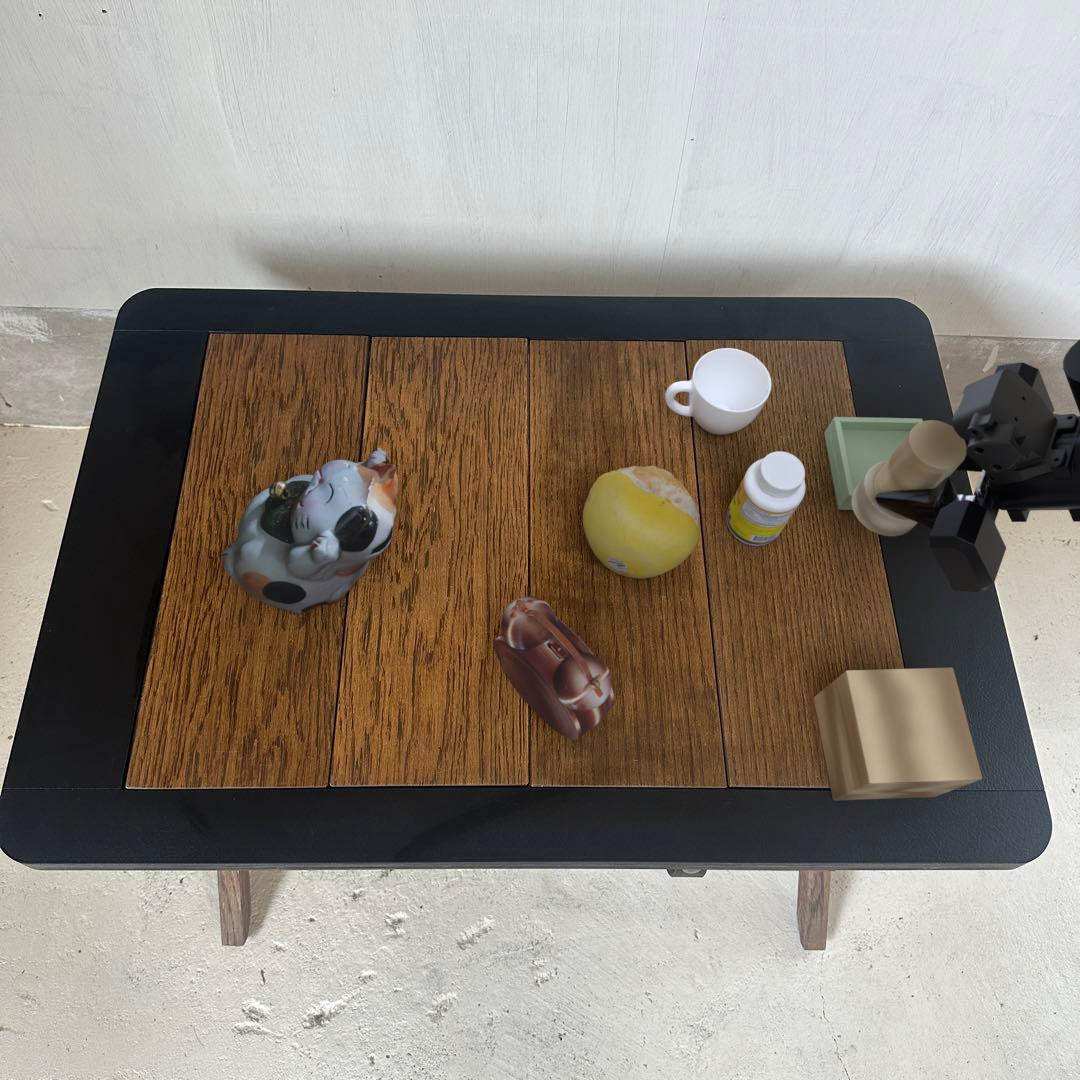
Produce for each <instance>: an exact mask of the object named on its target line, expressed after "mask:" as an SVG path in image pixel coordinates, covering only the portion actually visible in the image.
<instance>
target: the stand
mask: <svg viewBox="0 0 1080 1080" xmlns="http://www.w3.org/2000/svg"><path fill="white" fill-rule="evenodd" d="M813 701H814V707H815V712H816V713H815V714H816V719H817V723H818V729H819V733H820V740H821V744H822V745H821V746H822V749H823V755H824V761H825V765H826V771H827V775H828V776H827V777H828V782H829V786H830V791H831V797H832V801H834V802H835V801H836V802H837V801H857V800H858V801H859V800H860V801H861V800H863V801H864V800H886V799H887V800H889V799H915V798H936V797H938V796H941V795H943V794H946V793H949V792H952V791H955V790H957V789H960V788H962V787H965V786H968V785H971V784H973V783H976V782H978V781H982V780H983V775H982V771H981V768H980V764H979V760H978V757H977V752H976V749H975V745H974V741H973V738H972V734H971V730H970V727H969V722H968V718H967V715H966V712H965V709H964V703H963V701H962V696H961V692H960V689H959V685H958V681H957V678H956V674H955V670H954V667H922V668H921V667H918V668H887V669H885V668H883V669H881V668H880V669H852V670H851V669H849V670H845V671H844V672H842V674H840V675H839V676H837V678H835V679H834V680H833V681H832V682H830V683H829V684H828V685H827V686H826V687H825V688H823V689H821V690H820V691H819V692H818V693H817V694H816V695H815V696H814V697H813Z"/></svg>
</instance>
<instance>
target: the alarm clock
mask: <svg viewBox="0 0 1080 1080" xmlns="http://www.w3.org/2000/svg"><path fill="white" fill-rule="evenodd" d="M500 626H501V627H500V628H501V633H500V634H499V635H498V637H497V638H495V639H494V640H493V641H492V643H493V645H492V646H493V650H494V653H495V655H496V658H497V660H498V662H499V664H500V665H501V668H502V669H503V672H504V674H505V675H506V677H507V679H508V681H509V682H510V683H511V685H512V686H513V688H514V689H515V691H516V692H517V693H518V694H519V696H520V697H521V699H522V700H523V701H524V702H525V703H526V704H527V706H528V707H529V708H530V709H531V710H532V711H533V712H534V714H536V715H537V716H538V717H539V718H540V719H541V720H542V721H543V722H545V723H546V724H547V725H548V726H549V727H551V728H552V729H553V730H555V731H556V733H558V734H560V735H561V736H562V737H564V738H566V739H567V740H570V741H578V739H579V738H581V737H582V736H583V735H585V734H586V733H588V732H589V731H591V730H592V729H593V728H594V727H596V726H597V725H598V724H599V723H600V722H601V721H602V719H604V717H605V716H606V715H607V714H608V713H609V712H610V711H611V709H612V708H613V707H614V706H615V703H616V697H615V693H614V690H613V686H612V682H613V681H612V680H613V678H612V674H611V672H610V669H609V668H608V666H607V664H606V663H605V662H604V661H603V660H602V659H601V658H599V657H598V656H596V655H595V654H594V653H593V652H592V650H591V649H590V648H589V647H588V646H587V644H586V643H585V642H584V641H583V640H582V638H581V637H580V636H579V635H578V634H577V633H576V632H574V630H572V628H570V626H569V625H568V624H565V622H563V621H562V620H561V619H560V618H558V617H557V615H556V614H555V612H554V609H553V608H552V607H551V606H550V605H549V604H548V603H547V602H546V601H545V600H543V599H542V598H540V597H537V596H523V597H520V598H517V599H515V600H513V601H512V602H511V603H510V604H509V605H508V606H507V607H506V608H505V610H504V611H503V612H502V615H501V622H500Z"/></svg>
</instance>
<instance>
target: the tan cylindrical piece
mask: <svg viewBox="0 0 1080 1080" xmlns="http://www.w3.org/2000/svg"><path fill="white" fill-rule="evenodd" d="M966 449H967V446H966V443H965V440H964V439H962V438H961V437H960V436H959V435H958V434H957V433H956V432H955V430H954V428H953V425H951V424H948V423H946V422H945V421H941V420H936V419H928V420H923V422H920V423H918V424H917V425H915V426H914V427H913V428H912V430H911V431H910V432H909V433H908V435H907V436H906V437H905V439H904V440H903V441H902V442H901V444H900V445H899V446H898V448H897V449H896V450H895V451H894V453H893V454H892V455H891V457H890V458H889V459H888V460H887V461H883V462H880V463H878V464H876V465H874V466H873V467H871V469H870V470H869V471H868V472H867V473H866V475H865V476H864V477H863V479H862V480H861V481H860V483H859V484H858V485H857V487H856V488H855V490H854V492H853V494H852V508H853V510H852V511H853V514H854V515H855V518H856V519H857V520H858V522H859V523H860V524H861V525H863V526H864V527H865V528H866V529H868V530H869V531H871V532H873V533H874V534H877V535H881V536H884V537H898V536H902V535H905V534H907V533H909V532H910V531H911V530H913V528H914V527H915V526H916V525H917V524H918V523H917V522H915V521H913V520H911V519H908V518H906V517H904V516H902V515H899V514H897V513H895V512H893V511H890V510H888V509H886V508H884V507H881V506H880V505H879V504H878V503H877V501H876V499H875V497H876V495H877V494H880V493H885V492H891V491H905V490H921V489H933V488H936V487H937V486H938V485H939V484H940V483H941V482H942V481H943V480H944V479H945V478H946V477H949V478H950V476H952V475H953V473H954V472H955V471H957V470H956V469H957V468H958V466H959V465H960V464H961V463H962V462H963V461H964V459H965V457H966Z"/></svg>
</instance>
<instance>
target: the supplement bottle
mask: <svg viewBox="0 0 1080 1080" xmlns="http://www.w3.org/2000/svg"><path fill="white" fill-rule="evenodd" d="M805 476H806V470H805V467H804V464H803V463H802V461H801V460H800V459H799V458H798V457H797V456H795V455H794V454H792V453H791V452H786V451H782V450H781V451H780V450H779V451H778V450H777V451H773V452H770V453H768V454H767V455H766V456H765V457H763V458H760V459H757V460H756V461H754V462H753V463H752V464H751V465H750V466H749V467H748V469H747V470H746V472H745V474H744V476H743V478H742V480H741V482H740V484H739V486H738V488H737V490H736V492H735V494H734V496H733V498H732V500H731V502H730V504H729V506H728V508H727V511H726V525H727V528H728V530H729V531H730V533H731V535H732V536H733V537H735V538H736V539H737V540H738V541H740V543H743V544H746V545H749V546H753V547H759V546H765V545H768V544H771V543H772V542H774V541H775V540H776V539H777V538H778V537H779V535H780V534H781V532H782V531H783V530H784V528H785V526H786V525H787V524H788V523H789V520H790V519H791V518H792V516H793V515H794V513H795V511H796V510H797V509H798V507H799V505H800V504H801V502H802V501H803V499H804V497H805V495H806V481H805V478H806V477H805Z"/></svg>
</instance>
